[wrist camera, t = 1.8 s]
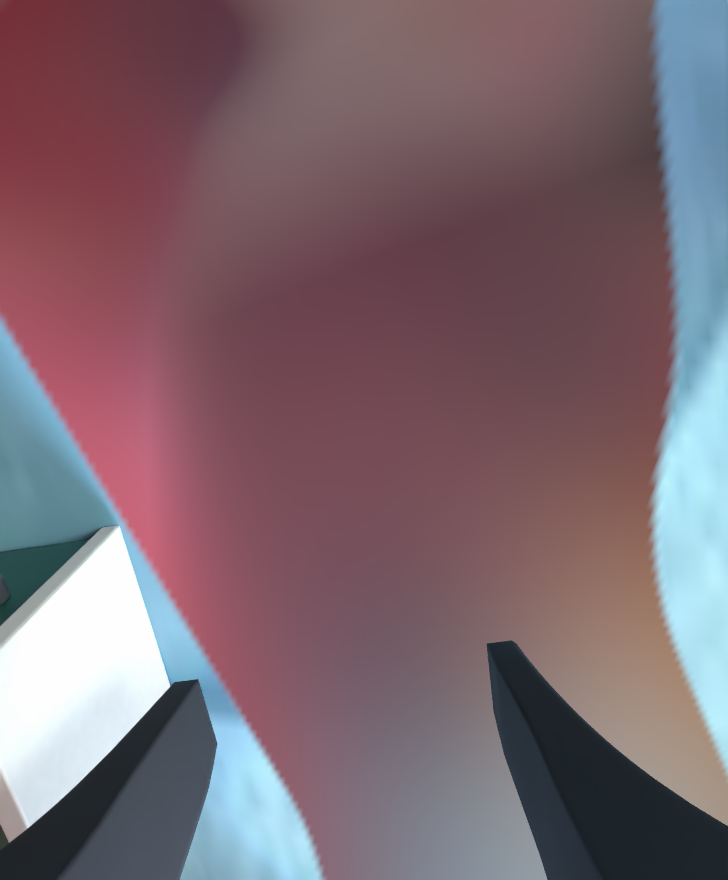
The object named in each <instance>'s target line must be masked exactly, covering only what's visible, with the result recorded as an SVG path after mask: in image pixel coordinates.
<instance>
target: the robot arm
mask: <svg viewBox="0 0 728 880" xmlns="http://www.w3.org/2000/svg"><path fill="white" fill-rule="evenodd" d="M487 651H488V661H489V670H490V680H491V690H492V700H493V709H494V715H495V718H496V723H497V727H498V731H499V735H500V739H501V743H502V747H503V751H504V755H505V758H506V761H507V764H508V767H509V769H510V772H511V775H512V778H513V781H514V783H515V786H516V789H517V792H518V795H519V797H520V800H521V803H522V806H523V809H524V812H525V814H526V817H527V820H528V823H529V825H530V828H531V831H532V834H533V837H534V839H535V842H536V845H537V848H538V851H539V853H540V857H541V860H542V863H543V866H544V870H545V873H546V876H547V879H548V880H728V826H727V825H725V824H723V823H721V822H720V821H718V820H716V819H715V818H713V817H711V816H710V815H708V814H707V813H705V812H703V811H702V810H700V809H699V808H697V807H695V806H694V805H692V804H690V803H689V802H688V801H686V800H685V799H683V798H682V797H680V796H679V795H677V794H676V793H674V792H673V791H671V790H670V789H668V788H667V787H666V786H664V785H663V784H661V783H660V782H658V781H657V780H655V779H654V778H653V777H651V776H650V775H649V774H647V773H646V772H645V771H643V770H642V769H640V768H639V767H638V766H637V765H636V764H634V763H633V762H632V761H630V760H629V759H628V758H627V757H625V756H624V755H623V754H622V753H621V752H619V751H618V750H617V749H616V748H615V747H613V746H612V745H611V744H610V743H609V742H608V741H606V740H605V739H604V738H603V737H602V736H601V735H600V734H598V733H597V732H596V731H595V730H594V729H593V728H592V727H591V726H590V725H589V724H588V723H587V722H586V721H585V720H584V719H583V718H581V717H580V716H579V715H578V714H577V713H576V712H575V711H574V710H573V709H572V708H571V707H570V706H569V705H568V704H567V703H566V702H565V700H564V699H563V698H562V697H561V696H560V695H559V694H558V693H557V692H556V691H555V690H554V689H553V688H552V687H551V686H550V684H549V683H548V682H547V681H546V680H545V679H544V678H543V677H542V675H541V674H540V673H539V672H538V671H537V669H536V668H535V667H534V666H533V665H532V663H531V662H530V661H529V660H528V658H527V657H526V656H525V655H524V653H523V652H522V651H521V649H520V648H519V647H518V645H517V644H516V643H515V642H513V641H505V642H496V643H488V644H487ZM216 748H217V741H216V738H215V734H214V731H213V728H212V724H211V721H210V718H209V714H208V711H207V707H206V704H205V701H204V697H203V694H202V690H201V687H200V684H199V680H198V679H197V680H189V681H181V682H174V683H173V684H172V685H171V687H170V688H169V689H168V690H167V691H166V692H165V693H164V694H163V695H162V696H161V697H160V698H159V699H158V700H157V701H156V703H155V704H154V705H153V706H152V707H151V708H150V709H149V710H148V711H147V712H146V714H145V715H144V716H143V717H142V718H141V719H140V720H139V721H138V722H137V723H136V725H135V726H134V727H133V728H132V729H131V730H130V731H129V732H128V733H127V734H126V735H125V736H124V737H123V738H122V740H121V741H120V742H119V743H118V744H117V745H116V746H115V747H114V748H113V749H112V750H111V751H110V752H109V753H108V754H107V755H106V756H105V757H104V758H103V759H102V760H101V761H100V762H99V763H98V764H97V765H96V766H95V767H94V768H93V769H92V770H91V771H90V772H89V773H88V774H87V775H86V776H85V777H84V778H83V779H82V780H81V781H80V782H79V783H78V784H77V785H76V786H75V787H74V788H73V789H72V790H71V791H70V792H69V793H68V794H66V795H65V796H64V797H63V798H62V799H61V800H60V801H59V802H58V803H57V804H55V805H54V806H53V807H52V808H51V809H50V810H49V811H47V812H46V813H45V814H44V815H43V816H42V817H40V818H39V819H38V820H37V821H36V822H35V823H33V824H32V825H31V826H30V827H29V828H27V829H26V830H25V831H24V832H22V833H21V834H20V835H19V836H17V837H16V838H15V839H14V840H12V841H11V842H10V843H8V844H7V845H6V846H5V847H3V848H2V849H1V850H0V880H179V879H180V876H181V873H182V870H183V867H184V864H185V861H186V858H187V855H188V852H189V849H190V845H191V842H192V839H193V836H194V833H195V830H196V827H197V824H198V821H199V817H200V814H201V811H202V808H203V805H204V802H205V798H206V795H207V792H208V788H209V784H210V779H211V774H212V770H213V764H214V759H215V753H216Z"/></svg>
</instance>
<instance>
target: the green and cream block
mask: <svg viewBox="0 0 728 880" xmlns="http://www.w3.org/2000/svg"><path fill="white" fill-rule="evenodd" d="M170 687H171V686H170V683H169V680H168V677H167V674H166V670H165V667H164V664H163V661H162V658H161V655H160V652H159V648H158V645H157V642H156V639H155V636H154V633H153V630H152V626H151V623H150V620H149V617H148V614H147V611H146V608H145V604H144V601H143V598H142V595H141V592H140V589H139V586H138V582H137V579H136V576H135V573H134V570H133V567H132V564H131V560H130V557H129V554H128V551H127V548H126V545H125V542H124V538H123V535H122V532H121V529H120V526H119V525H116V526H109V527H103V528H101V529H100V530H99V531H98V532H97V533H96V534H95V535H94V536H93V537H92V538H91V539H90V540H85V541H78V542H71V543H64V544H57V545H50V546H43V547H36V548H29V549H22V550H14V551H7V552H0V850H1V849H2V848H3V847H5V846H6V845H7V844H8V843H10V842H11V841H12V840H14V839H15V838H16V837H17V836H19V835H20V834H21V833H22V832H24V831H25V830H26V829H27V828H29V827H30V826H31V825H32V824H33V823H35V822H36V821H37V820H38V819H39V818H40V817H42V816H43V815H44V814H45V813H46V812H47V811H49V810H50V809H51V808H52V807H53V806H54V805H55V804H57V803H58V802H59V801H60V800H61V799H62V798H63V797H64V796H65V795H66V794H68V793H69V792H70V791H71V790H72V789H73V788H74V787H75V786H76V785H77V784H78V783H79V782H80V781H81V780H82V779H83V778H84V777H85V776H86V775H87V774H88V773H89V772H90V771H91V770H92V769H93V768H94V767H95V766H96V765H97V764H98V763H99V762H100V761H101V760H102V759H103V758H104V757H105V756H106V755H107V754H108V753H109V752H110V751H111V750H112V749H113V748H114V747H115V746H116V745H117V744H118V743H119V742H120V741H121V740H122V738H123V737H124V736H125V735H126V734H127V733H128V732H129V731H130V730H131V729H132V728H133V727H134V726H135V725H136V723H137V722H138V721H139V720H140V719H141V718H142V717H143V716H144V715H145V714H146V712H147V711H148V710H149V709H150V708H151V707H152V706H153V705H154V704H155V703H156V701H157V700H158V699H159V698H160V697H161V696H162V695H163V694H164V693H165V692H166V691H167V690H168V689H169V688H170Z"/></svg>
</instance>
